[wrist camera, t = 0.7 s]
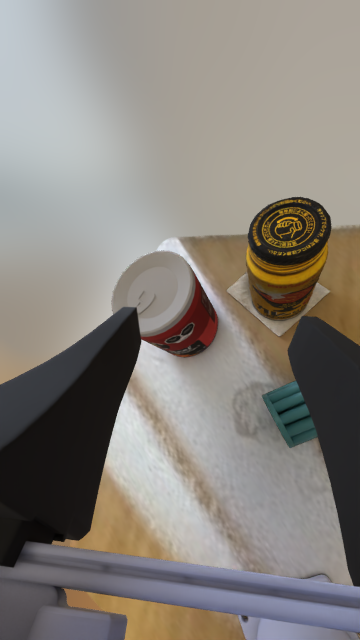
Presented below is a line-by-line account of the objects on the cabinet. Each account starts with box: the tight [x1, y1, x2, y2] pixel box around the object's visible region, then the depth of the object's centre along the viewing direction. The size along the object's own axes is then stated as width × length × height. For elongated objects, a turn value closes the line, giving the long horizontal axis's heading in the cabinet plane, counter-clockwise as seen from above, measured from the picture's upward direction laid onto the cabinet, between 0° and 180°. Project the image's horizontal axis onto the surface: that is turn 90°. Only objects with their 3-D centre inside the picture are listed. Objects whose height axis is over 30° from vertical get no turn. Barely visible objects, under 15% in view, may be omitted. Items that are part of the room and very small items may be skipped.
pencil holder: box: [262, 381, 318, 448], centre depth 19 cm, size 7×6×5 cm
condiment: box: [227, 197, 331, 337], centre depth 21 cm, size 7×8×12 cm
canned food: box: [112, 251, 218, 357], centre depth 23 cm, size 8×8×11 cm
